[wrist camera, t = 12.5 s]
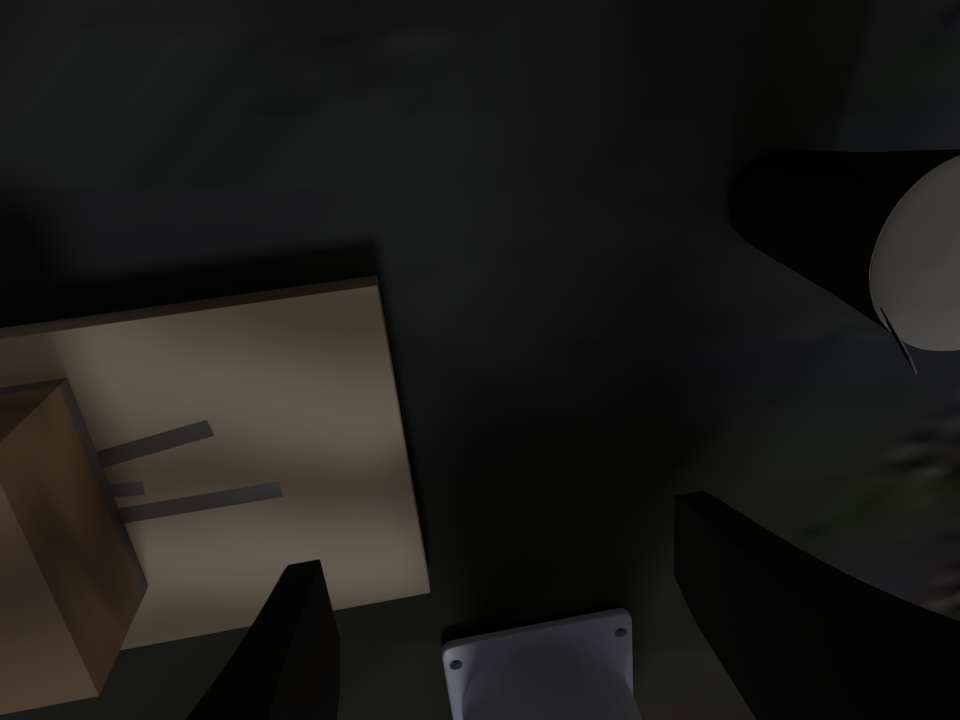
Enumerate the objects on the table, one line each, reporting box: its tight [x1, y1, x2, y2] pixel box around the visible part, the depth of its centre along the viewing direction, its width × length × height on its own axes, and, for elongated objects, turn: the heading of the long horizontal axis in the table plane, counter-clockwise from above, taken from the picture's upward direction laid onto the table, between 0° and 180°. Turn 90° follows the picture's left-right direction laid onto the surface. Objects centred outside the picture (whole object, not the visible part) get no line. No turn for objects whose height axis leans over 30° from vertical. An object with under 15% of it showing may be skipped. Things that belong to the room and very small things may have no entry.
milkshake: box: [729, 149, 960, 375], centre depth 18 cm, size 5×5×10 cm
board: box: [0, 275, 430, 650], centre depth 22 cm, size 12×16×1 cm
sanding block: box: [0, 378, 148, 715], centre depth 19 cm, size 8×4×4 cm, turn 6°
